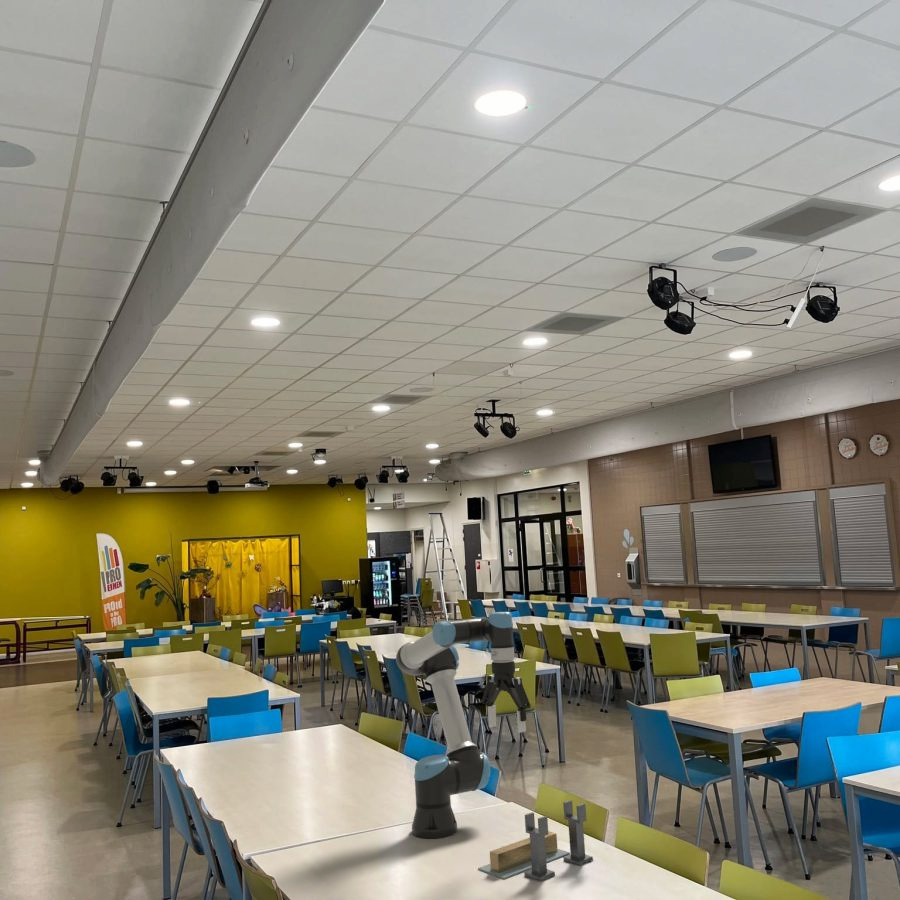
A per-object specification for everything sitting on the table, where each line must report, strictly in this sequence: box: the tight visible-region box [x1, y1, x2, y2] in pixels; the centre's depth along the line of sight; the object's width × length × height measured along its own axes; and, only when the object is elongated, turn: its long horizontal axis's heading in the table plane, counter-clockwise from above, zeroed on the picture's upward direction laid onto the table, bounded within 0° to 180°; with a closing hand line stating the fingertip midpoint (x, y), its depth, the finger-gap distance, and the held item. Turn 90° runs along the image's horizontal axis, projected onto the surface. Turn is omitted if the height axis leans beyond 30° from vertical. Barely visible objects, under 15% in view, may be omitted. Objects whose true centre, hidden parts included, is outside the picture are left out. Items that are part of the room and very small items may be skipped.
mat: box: [477, 848, 571, 880], centre depth 240 cm, size 11×27×1 cm, turn 129°
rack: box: [523, 799, 594, 883], centre depth 234 cm, size 6×22×16 cm, turn 129°
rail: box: [489, 830, 559, 873], centre depth 240 cm, size 4×24×5 cm, turn 129°
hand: (507, 729), depth 260 cm, fingers open, 13 cm apart
